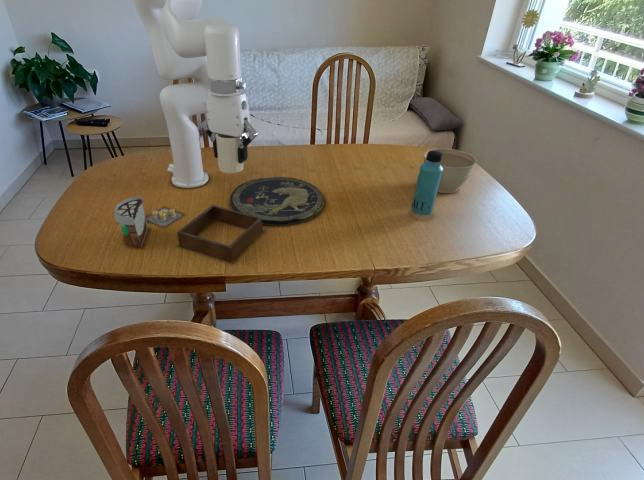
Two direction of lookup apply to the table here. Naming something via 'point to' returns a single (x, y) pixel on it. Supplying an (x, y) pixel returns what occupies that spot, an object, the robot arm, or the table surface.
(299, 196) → the decorative plate
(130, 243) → the food container
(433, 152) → the beverage bottle
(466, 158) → the planter bowl
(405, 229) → the table surface
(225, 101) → the robot arm
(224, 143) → the cup
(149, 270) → the table surface
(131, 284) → the table surface
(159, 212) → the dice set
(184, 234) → the wooden box
